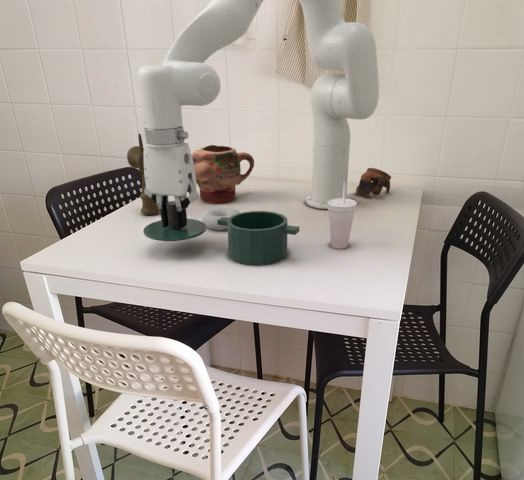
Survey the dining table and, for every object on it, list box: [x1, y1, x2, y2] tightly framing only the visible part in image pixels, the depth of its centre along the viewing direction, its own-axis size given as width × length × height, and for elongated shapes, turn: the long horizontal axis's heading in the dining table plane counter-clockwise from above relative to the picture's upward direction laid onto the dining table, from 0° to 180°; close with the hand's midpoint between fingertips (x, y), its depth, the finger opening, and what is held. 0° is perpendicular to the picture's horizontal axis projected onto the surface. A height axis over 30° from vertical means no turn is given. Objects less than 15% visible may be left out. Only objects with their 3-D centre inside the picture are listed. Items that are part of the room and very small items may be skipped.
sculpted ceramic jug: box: [191, 144, 255, 204], centre depth 142 cm, size 20×12×14 cm, turn 119°
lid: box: [143, 200, 207, 242], centre depth 109 cm, size 14×14×7 cm
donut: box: [201, 207, 241, 231], centre depth 125 cm, size 10×4×10 cm
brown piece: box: [355, 167, 392, 199], centre depth 144 cm, size 12×10×8 cm
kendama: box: [126, 133, 160, 216], centre depth 130 cm, size 6×10×20 cm, turn 32°
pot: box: [217, 210, 300, 266], centre depth 108 cm, size 13×18×8 cm
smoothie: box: [327, 182, 358, 250], centre depth 109 cm, size 6×6×14 cm
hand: (174, 225), depth 110 cm, fingers closed on lid, 2 cm apart
